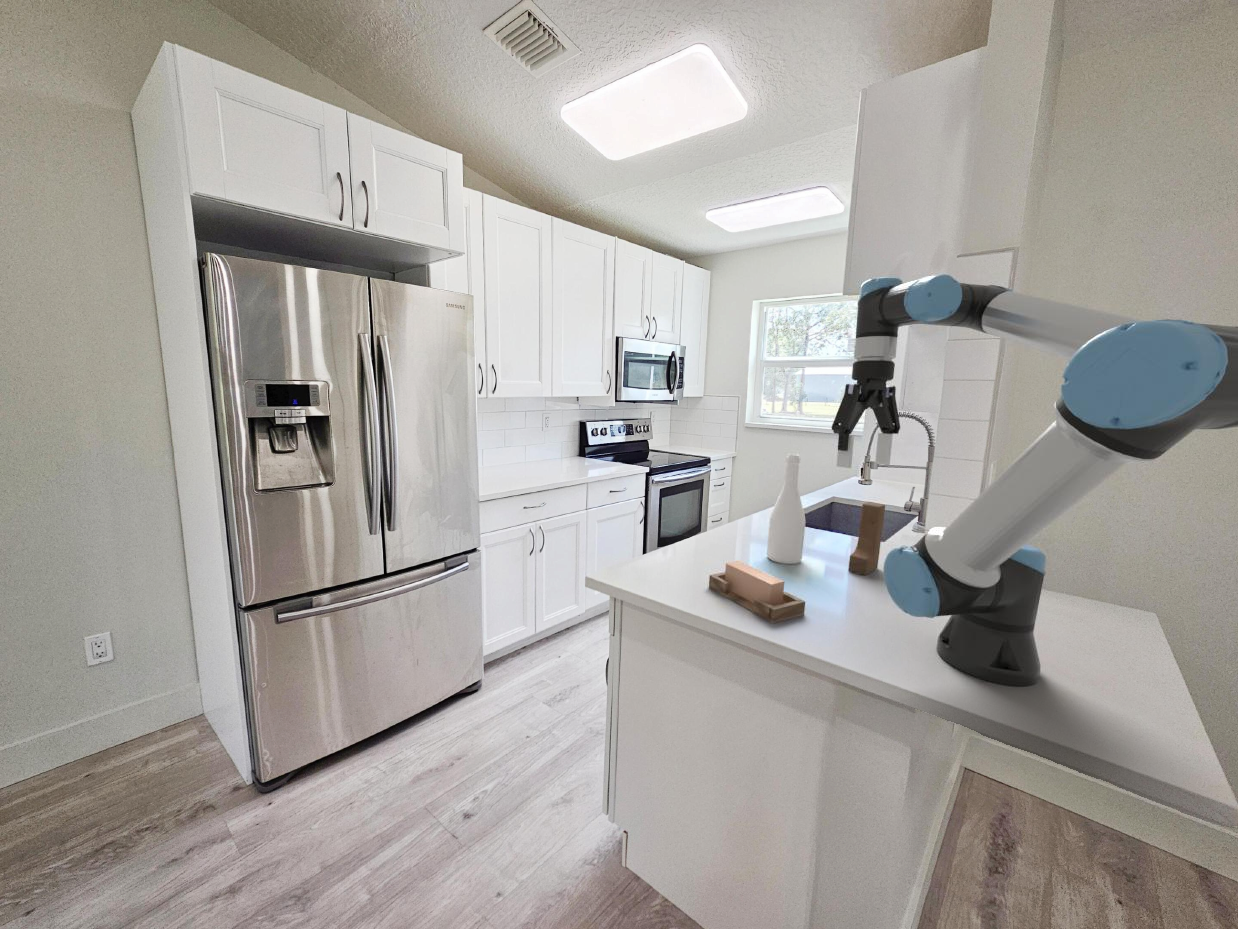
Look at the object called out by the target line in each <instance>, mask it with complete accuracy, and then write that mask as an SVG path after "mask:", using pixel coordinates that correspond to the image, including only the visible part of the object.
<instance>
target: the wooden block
mask: <svg viewBox="0 0 1238 929" xmlns="http://www.w3.org/2000/svg"><path fill="white" fill-rule="evenodd" d="M885 511H886V505H885V504H883V503H877V502H872V501H868V502H865V503H862V506H861V513H860V514H861V515H860V524H859V532H858V539H857V544H856V546H855V549H854V551H853V552H852V553H851V554H850V555H849V562H848V571H849V572H852V573H855V574H859V575H862V576H866V575H868V574H869V573H871V572H873V571H875V570H876V569H877V568H878V567H879V566H878V564H879V560H880V558H879V557H880V550H881V542H882V534H883V527H884V526H883V525H884V518H885Z"/></svg>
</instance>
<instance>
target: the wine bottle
mask: <svg viewBox="0 0 1238 929" xmlns="http://www.w3.org/2000/svg"><path fill="white" fill-rule="evenodd" d="M785 462H786V466H785V476H784V483H783V486H782V489H781V491H780V493H779V495H778V498H777V500H776V502H775V504H774V505H773V506H774V507H773V509H772V511H771V512H770V517H769V522H768V523H769V525H768V537H767V547H766V556H767V558H768V559H769V560H771V561H773V562H776V563H778V564H785V565H794V564H799V563H801V561H802V559H803V550H804V541H805V533H806V532H805V530H806V521H807V520H806V516H805V512H804V507H803V504H802V499H801V496H800V495H801V494H800V492H799V485H798V482H799V481H798V480H799V466H800V463H801V456H800V454H796V453H788V454H787V455H786V460H785Z"/></svg>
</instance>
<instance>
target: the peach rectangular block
mask: <svg viewBox="0 0 1238 929" xmlns="http://www.w3.org/2000/svg"><path fill="white" fill-rule="evenodd" d="M724 572H725V581H727V582H729V583H730V584H729V590H730V591H732V592H734V593H736V594H738V595H740V596H741V597H743V598H745V599H747V600H749V601H751V602H754V599H756V598H759V599H761V600H763V601H764V602H766V603H768V604H770V605H772V606H777V605H781V604H782V602H783V592H785V591H784V590H785V581H784V580H782V579H780V578H777V577H776V576H774V575H771V574H769V573H767V572H764V571H762V570H760V569H758V568H757V567H753V566H751V565H748V564H747V563H744V562H742V561H740V560H737V561H736V560H735V561H730V562H726V563H725V571H724Z"/></svg>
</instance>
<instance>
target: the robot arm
mask: <svg viewBox="0 0 1238 929" xmlns="http://www.w3.org/2000/svg"><path fill="white" fill-rule="evenodd" d="M856 313H857V314H856V315H857V316H856V328H855V342H854V348H853V349H854V350H853V359H855V360H856V361H854V362H853V363H852V372H851V379H852V380H853V381H856V383H846V384H845V388H844V392H843V393H844V394H843V396H842V399H841V402H840V405H839V408H838V410H837V412H836V414H835V417H834V420H833V422H832V425H831V431H833V433H834V434H837V435H838V441H837V457H836V467H838V468H845V469H851V468H852V463H853V454H854V453H853V450H854V441H855V434H852V433H853V431H854V430H855V428H856V426H857V425H858V423H859V421H860V420H861V418H862V415H863V414H864V412H865V411H866V410H868V409H869V408H870V409H871V410H872V411H873V413H874V416H875V419H876V422H877V424H878V428H879V429H880V432H878V433H877V442H876V453H875V464H878V465H886V466H890V463H891V456H892V447H893V446H892V445H893V444H892V443H893V435H898V434H899V432H900V430H901V424H900V417H899V411H898V405H897V404H898V403H897V397H896V390H897V388H896V385H887V382H888V381H889V382H890V381H892V380H893V379H894V377H895V375H894V374H895V364H896V363H895V361H893V360H894V359H895V358H896V357H897V348H898V347H897V345H898V336H899V333H898V332H899V327H903V326H904V327H905V326H912V325H931V326H943V327H956V328H957V327H959V328H967V329H972V330H973V331H976V332H977V331H978V332H982V333H984V334H988V335H992V336H994V337H998V338H1001V339H1003V340H1006V341H1009V342H1013V343H1016V344H1019V345H1020V346H1021V345H1022V346H1023V347H1024V346H1025V347H1026V348H1027V347H1028V348H1031V349H1033V350H1037V351H1040V352H1043V353H1047V354H1048V355H1052V356H1055V357H1059V358H1061V359H1065V360H1068V363H1067V364H1066V366H1065V368H1064V370H1063V373H1062V379H1064V382H1063V384H1061V385H1060V392H1061V395H1059V397H1058V398H1057V400H1055V402H1054V404H1053V408H1054V412H1055V413H1054V414H1055V418H1056V419H1055V420H1054V422H1052V423H1051V424H1050V425H1049V426H1048V427H1047V428H1046V429H1045V430H1044V431H1043V432H1042V433H1041V434H1040V435H1039V436H1038V437H1037V438H1036V439H1035V440H1034V441H1033V442H1032V443H1031V444H1030V445H1029V446H1028V447H1027V448H1025V450H1024V451H1023V452H1022V453H1020V455H1019V456H1018V457H1017V458H1016V459H1015V460H1014V461H1013V462H1012V463H1011V464H1010V465H1009V466H1008V467H1007V468H1006V469H1005V470H1004V471H1003V472H1002V473H1001V474H1000V475H999V476H998V477H997V478H996V479H994V481H993V482H992V483H991V484H990V485H989V486H988V487H987V488H986V489H985V490H984V491H982V493H981V494H979V495H978V496H977V497H976V498H975V499H974V500H973V501H972V503H970V505H968V506H967V507H966V508H965V509H964V510H963V511H962V512H961V513H960V515H958V516H957V517H956V518H955V519H954V520H953V521H952V522H951V523H950V524H949V525H938V526H934V527H932V528H931V529H930V530H928V531H927V532H926V533H925V535H923V536H922V537H921V538H920V539H919V540H918V541H917V542H916V543H915V544H914V545H911V546H909V545H901V546H899V547H895V548H893V549H891V550H890V551H889V553H888V554H887V555H886V557H885V559H884V562H883V571H882V572H883V579H884V584H885V586H886V590H887V593H888V594H889V596H890V599H891V600H892V601H893V603H894V604H895V605H896V606H897V607H898V608H899V609H900V610H901V611H902V612H904V613H905V614H908V615H909V616H911V617H916V618H927V619H928V618H931V619H933V618H935V617H946V616H950V617H949V619H948V620H947V621H946V623H945V625H944V626H943V628H942V630H941V631H940V633H939V635H938V636H937V641H936V651H937V654H938V655H939V657H940V658H942V660H944V661H945V662H946V663H948V664H949V665H950V666H953V667H954V668H956V669H958V670H960V671H961V672H963V673H966V674H969V675H970V676H973V677H975V678H978V679H982V680H984V681H987V682H991V683H996V684H1000V685H1007V686H1014V687H1016V686H1017V687H1023V686H1031V685H1034V684H1036V683H1037V682H1039V679H1040V673H1041V661H1040V660H1041V659H1040V656H1039V653H1038V652H1039V651H1038V649H1037V644H1036V639H1035V635H1034V632H1035V626H1036V620H1037V615H1038V611H1039V610H1038V609H1039V604H1040V599H1041V595H1042V594H1041V593H1042V589H1043V585H1044V584H1043V583H1044V580H1045V579H1044V578H1045V576H1046V574H1047V573H1046V563H1047V562H1046V561H1047V556H1046V555H1045V554H1044V552H1043V551H1042V550H1040V549H1039V548H1037V547H1035V546H1032V545H1030V544H1029V542H1031V540H1033V539H1035V538H1036V537H1037V536H1038V535H1039V534H1041V533H1042V532H1043V531H1045V529H1047V528H1048V527H1050V526H1051V525H1052V524H1053V523H1054V522H1056V521H1057V520H1058V519H1059V518H1061V517H1062V516H1064V514H1065V513H1067V512H1068V511H1069V510H1070V509H1071V508H1073V507H1075V506H1076V505H1077V504H1078V503H1079V502H1081V500H1083V499H1084V498H1085V497H1087V495H1089V494H1091V493H1092V492H1093V491H1094V490H1096V489H1097V488H1098V487H1099V486H1100V485H1102V484H1103V483H1104V482H1105V481H1106V480H1108V479H1109V478H1110V477H1112V476H1113V475H1114V474H1115V473H1117V472H1118V471H1119V470H1120V469H1122V468H1123V467H1124V466H1125V465H1126V464H1128V463H1129V462H1151V461H1152V462H1153V461H1155V460H1157V459H1158V458H1160V457H1161V456H1162V455H1164V454H1165V453H1167V451H1169V450H1171V449H1172V448H1173V447H1174V446H1175V445H1176V444H1178V443H1179V442H1181V441H1182V440H1183V439H1184V438H1186V437H1187V436H1188V435H1190V434H1191V433H1192V432H1194V431H1195V430H1223V429H1224V430H1225V429H1230V428H1231V429H1232V428H1238V326H1229V325H1220V324H1206V323H1197V322H1194V321H1189V320H1182V319H1155V320H1142V319H1138V318H1134V317H1129V316H1125V315H1119V314H1115V313H1112V312H1107V311H1102V310H1099V309H1093V308H1089V307H1085V306H1080V305H1076V304H1071V303H1068V302H1067V303H1066V302H1063V301H1058V300H1053V299H1049V298H1044V297H1042V296H1041V297H1040V296H1036V295H1031V294H1026V293H1022V292H1018V291H1014V290H1013V289H1012V288H1011V289H1010V288H1008V287H1004V286H1001V285H993V284H988V285H985V284H976V283H975V284H973V283H972V284H971V283H964V282H959V281H958V280H956V279H955V278H954V277H953V276H951V275H950V274H936V275H927V276H924V277H921V278H919V279H916V280H912V281H909V282H906V283H904V282H903V280H902V279H901V278H899V277H892V276H883V277H882V276H881V277H877V278H871V279H867V280H865V281H864V282H863V283H862V284H861V286H860V290H859V297H858V301H857V312H856Z"/></svg>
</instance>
